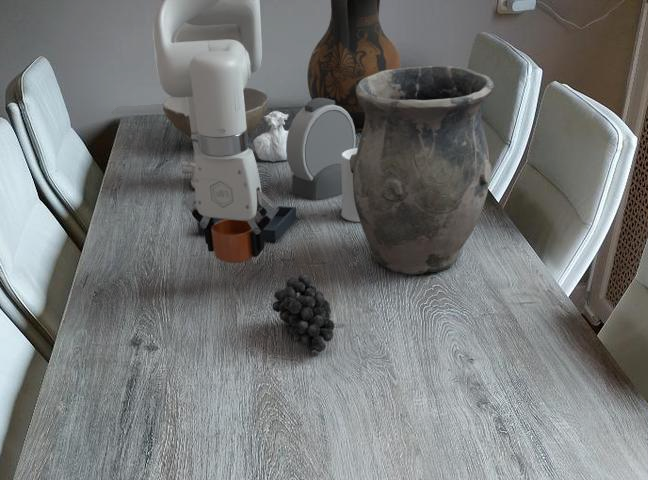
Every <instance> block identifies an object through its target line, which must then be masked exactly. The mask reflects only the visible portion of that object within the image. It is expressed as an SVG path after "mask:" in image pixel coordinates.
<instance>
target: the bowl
mask: <svg viewBox="0 0 648 480" xmlns="http://www.w3.org/2000/svg"><path fill="white" fill-rule="evenodd" d="M243 93H244V104H245V115H246V126H247V136H249V135H250V134H251V133H252V132H254V131H255V130H256V129H257V128H258V127H259V125H260V124H261V122H262V121H263V119H264V116H265V114H266V112H267V109H268V103H269V102H268V101H269V98H268V95H267V93H265V92H263V91H261V90H258V89H256V88H251V87H245V89H244V90H243ZM162 110H163V112H164V114H165V116H166V117H167V119H168V120H169V121H170V122H171V124H172V125H173V126H174V127H175V128H176V129H177V130H179V131H180V132H181V133H182V134H184V135H185V136H186V137H187V138H190V139H191V126H190V119H189V112H188V105H187V98H186V97H172V96H170V97H168V98H167V99H165V100H164V101H163V103H162Z"/></svg>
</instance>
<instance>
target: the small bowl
mask: <svg viewBox="0 0 648 480" xmlns="http://www.w3.org/2000/svg"><path fill="white" fill-rule="evenodd" d="M252 232H253V230H252V228H251V227H250V225H249V224H248V222H247V221H239V220H229V219H225V220H221V221H219V222H216V223H214V224H213V225H212V226H211V234H212V242H213V250H214V251H213V256H214V257H215V258H216V259H217V260H218V261H219V260H220V261H221V262H224V263H229V264H239V263H240V264H241V263H245V262H247V261H249V260H251V259H252V258H255V257H254V256H253V255H252V246H251V233H252Z"/></svg>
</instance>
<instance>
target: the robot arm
mask: <svg viewBox="0 0 648 480" xmlns="http://www.w3.org/2000/svg"><path fill="white" fill-rule="evenodd" d="M260 1H261V0H160V1H159V2H158V5H157V7H156V10H155V13H154V16H153V22H152V41H153V48H154V56H155V65H156V71H157V77H158V80H159V81H158V82H159V84H160V86H161V87H162V90H163V91H164V93H166V94H167V95H169V96H170V97H186V98H187V105H188V112H189V119H190V126H191V138H190V140H191V142H192V147H193V155H194V162H192V161H182V162H181V164H180V168H181V173H182V174H187V175H188V174H191V176H192V178H191V180H190V183H191V184H190V185H191V187H192V188H193V189H194V191H193V192H192V193H190V195H189V196H188V197H186V198H185V199H184V200H183V204H184V206H185V207H186V208H187V209H188V211H189V212H190V213H191V215H192V217H193V218H194V219H195V220H196V221H197V223H198V222H199V223H200V226H201V227H202V228H203V229H204V234H205V235H204V242H205V244H206V245H207V252H210V253H213V252H214V250H213V242H212V234H211V226H212V225H213V224H214V223H216V222H214V221H213V220H214V218H219V219H229V220H239V221H247V222H248V224H249V225H250V227H251V228H252V230H253V232H252V233H251V246H252V255H253V256H254V257H253V258H257V257H258V256H259V255H260V254H261V253H262V252H263V251H264V249H265V248H266V247H265V246H266V245H265V244H266V243H265V241H264V231H263V229H264V228H265V227H266V226H267V225H268V224H269V223H270V221H271V220H272V219H273V217H274V216H275V215H276V213H277V212H278V211H279V207H278V206H279V205H277V204H276V203H275V202H274V201H272V200H271V199H270V198H269V197H268V196H267V195H265V194H264V193H263V191H262V185H261V179H260V174H259V168H258V165H257V160H256V158H255V154H254V152H253V150H252V149H251V148H249V137H248V136H249V135H247V126H246V115H245V104H244V93H243V90H244V89H245V88H247V85H248V81H250V80H251V76H252V75H251V74H254V73H255V72H257V71H258V70H259V69H260V67H261V65H262V61H263V60H262V59H263V41H262V23H261V2H260ZM185 23H186V24H188V25H186V26H184V27H182V28H181V29H180V30H179V31H178V32H177V33H176V35H175V39H174V42H172V38H173V35H174V34H175V32H176V31H177V30H178V29H179V28H180V27H181V26H182V25H184V24H185ZM262 207H263V208H264V209H265V210H266V211H267V213H266V215H265V216H264V218H262V216H261V215H260V213H259V211H260V210H261V209H262Z"/></svg>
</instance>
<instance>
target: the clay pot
mask: <svg viewBox="0 0 648 480" xmlns="http://www.w3.org/2000/svg"><path fill="white" fill-rule="evenodd" d="M494 89H495V84H494V82H493V80H492V79H491V78H490V77H489V76H488V75H486V74H483V73H480V72H478V71H475V70H473V69H470V68H466V67H459V66H458V67H457V66H448V65H427V66H408V67H403V68H402V67H401V69H394V70H386V71H381V72H379V73H376V74H374V75H371V76H369V77H366V78H364V79H362V80H361V81H360V82H359V84H358V85H357V87H356V95H357V98H358V100H359V102H360V104H361V106H362V108H363V110H364V112H365V123H364V127H363V131H361V133H360V134H361V135H360V139H359V142H358V146H357V148H358V150H357V153H356V154H354V155H351V158H350V167H351V172H352V173H353V192H354V200H355V205H356V209H357V213H358V216H359V219H360V222H359V223H360V225H361V228H362V231H363V234H364V236H365V238H366V241H367V243H368V247H369V250H370V253H371V257H372V260H373V261H374V262H375V263H376V264H378V265H379V266H381V267H382V268H384V269H386V270H387V271H391V272H394V273H399V274H402V275H412V276H414V275H415V276H416V275H421V274H427V273H428V274H432V273H438V272H441V271H443V270H447V269H449V268H451V267H452V266H453V265H455V263H456V262H457V261H458V258H459V256H460V253H461V251H462V249H463V247H464V245H465V244H466V242H467V241H468V240H469V238H470V236H471V235H472V233H473V231H474V229H475V228H476V226H477V224H478V222H479V219H480V217H481V215H482V213H483V210H484V207H485V203H486V200H487V197H488V192H489V187H490V184H489V183H490V181H491V179H492V164H491V163H490V151H489V145H488V141H487V137H486V133H485V128H484V125H483V121H482V112H483V108H484V105H485V102H486V100H487V99H488V97H489V96H490V95H491V93H492V92H493V90H494Z"/></svg>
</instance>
